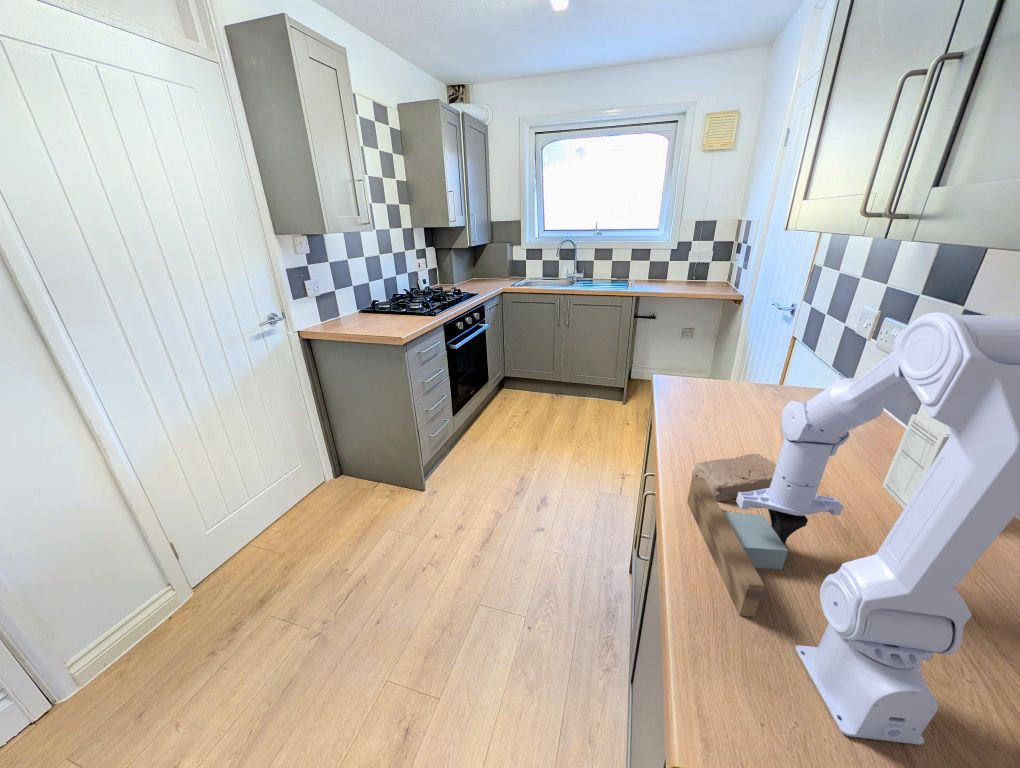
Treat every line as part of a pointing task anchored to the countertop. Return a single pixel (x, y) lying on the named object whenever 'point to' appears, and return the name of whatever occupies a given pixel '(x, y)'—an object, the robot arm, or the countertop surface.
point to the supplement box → (915, 456)
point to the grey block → (758, 540)
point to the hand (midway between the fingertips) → (775, 543)
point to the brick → (736, 475)
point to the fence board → (725, 549)
